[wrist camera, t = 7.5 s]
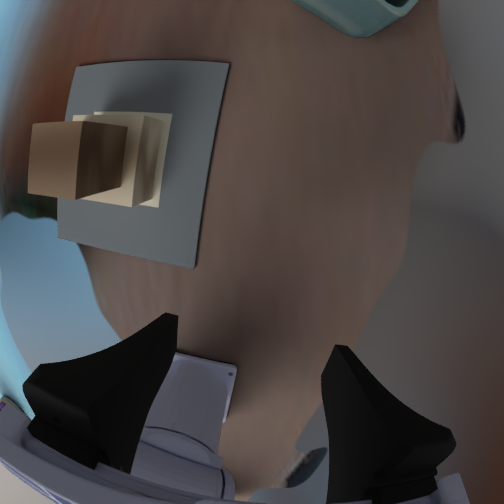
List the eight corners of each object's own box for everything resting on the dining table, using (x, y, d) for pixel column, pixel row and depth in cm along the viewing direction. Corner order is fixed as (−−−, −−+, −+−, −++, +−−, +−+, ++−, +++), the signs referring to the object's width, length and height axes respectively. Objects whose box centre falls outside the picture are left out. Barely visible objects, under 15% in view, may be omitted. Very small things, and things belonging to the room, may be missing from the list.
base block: (152, 198, 20) (131, 207, 17) (90, 189, 20) (65, 196, 17) (163, 121, 18) (144, 115, 15) (98, 118, 18) (73, 115, 15)
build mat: (194, 267, 22) (193, 269, 22) (59, 236, 22) (57, 237, 22) (229, 64, 17) (229, 63, 17) (78, 67, 17) (76, 67, 17)
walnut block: (120, 187, 17) (75, 200, 12) (75, 181, 17) (27, 193, 12) (128, 126, 15) (82, 120, 11) (81, 126, 15) (33, 123, 11)
